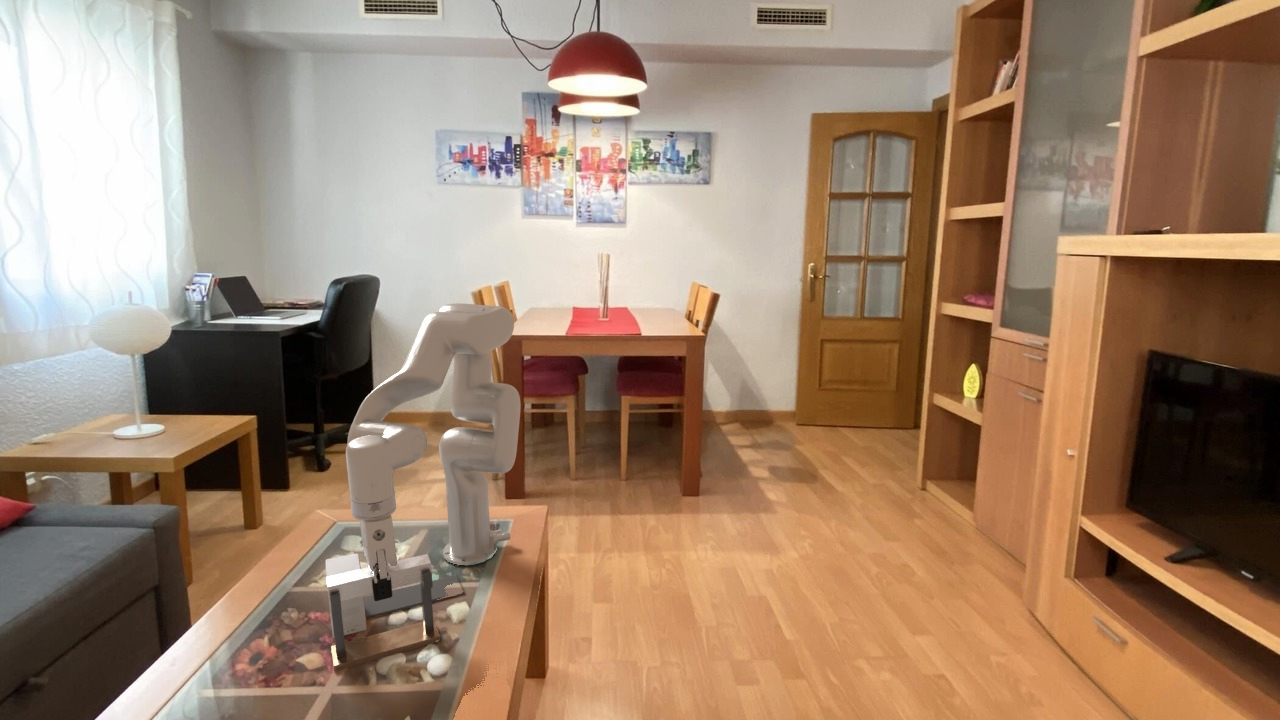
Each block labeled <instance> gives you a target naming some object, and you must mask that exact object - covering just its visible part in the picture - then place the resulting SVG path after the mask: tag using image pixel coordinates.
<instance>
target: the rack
mask: <svg viewBox="0 0 1280 720" xmlns="http://www.w3.org/2000/svg"><path fill="white" fill-rule="evenodd" d="M422 577H423V581H422V582H419V584H420V585H421V599H422V605H421V612H422V621H420V622H416V623H413V624H408V625H405V626H402V627H397V628H393V629H390V630H386V631H383V632H379V633H375V634H371V635H368V636H364V637H361V638H360V637H359V638H357V639H353V640H349V641H346V639H345V635H344V631H343V622H342V613H341V610H342V609H341V600H340V593H338V594H334V595H330V601H331V613H332V621H333V630H334V638H333V639H334V645H331V646H330V649H331V650H330V651H331V655H332V663H333V665H332V666H333V671H334V672H338V671H341V670H344V669H348V668H352V667H354V666H358V665H361V664H365V663H369V662H372V661H376V660H380V659H383V658H387V657H389V656H394V655H396V654H401V653H404V652H407V651H411V650H414V649H417V648H422V647H425V646H428V644H429V645H431V644H430V643H432V642H435V641H436V640H439V639H440V640H441V636H440V633H439V630H438V627H437V625H436V622H435V619H434V614H433V613H434V612H433V611H434V610H433V602H432V595H431V588H433V584H432V581H433V574H432V573H431V571H430V572H426V573H422ZM432 644H433V643H432Z"/></svg>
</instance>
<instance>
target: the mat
mask: <svg viewBox="0 0 1280 720" xmlns="http://www.w3.org/2000/svg"><path fill="white" fill-rule="evenodd" d="M456 577H458V575H457V574H454V575H451V576H446V577H443V578H439V579H434V580H432V584H433V588H431V595H432V603H434V602H433V601H435V600H437V599H440V598H442V597H445V596H446V595H447V594H448V593H447V594H446V592H445V591H446V590H445V589H444V588H445V587H446V586H447V585H450V584H451V585H452V584H453V583H454V582H456ZM452 582H453V583H452ZM447 596H448V595H447ZM435 602H436V601H435ZM364 606H365V615H366V620H369V619H372V618H373V619H374V618H377V617H379V616H384V615H388V614H391V613H396V612H400V611H404V610H407V609H411V608H415V607H419V606H422V599H421V585H420V583H417V584H415V585H411V586H410V585H409V586H407V587H405V586H404V587H402V588H401V587H400V588H397V589H394V590H393V589H392V597H391V598H387V599H383V600H379V601H374V595H373V594H372V595H370V596H366V597H365V596H364Z"/></svg>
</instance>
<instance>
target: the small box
mask: <svg viewBox="0 0 1280 720" xmlns="http://www.w3.org/2000/svg"><path fill="white" fill-rule="evenodd" d="M360 561H361V560H360V555H359V553H354V554H353V553H352V554H349V555H343V556H337V557H331V558H326V559H325V575H326V577H328V576H332V575H337V574H341V573H346V572H350V571H354V570H359V569H362V568H361V562H360ZM326 577H325V578H326ZM364 598H365V596H361V597H357V598H352V599H348V600H344V601H341V609H342V610H341V613H342V622H343V631H344V636H347V635H350V634H355V633H359V632H363V631H366V630H367V619H366V615H365V606H364ZM328 604H329V603H328ZM329 615H330V625H331V633H332V638H333V639H334V630H333V621H332V613H331V604H329Z"/></svg>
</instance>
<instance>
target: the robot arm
mask: <svg viewBox="0 0 1280 720" xmlns="http://www.w3.org/2000/svg"><path fill="white" fill-rule="evenodd" d="M514 328H515V321H514V317H513V314H512V312H511V311H510V310H509V309H508V308H506V307H504V306H499V305H498V306H497V305H485V304H473V303H457V302H456V303H449V304H445V305H442V306H441V307H440V308H439V310H438V312H437V311H436V312H433V313H429V314H427V315H426V316H425V317H424V318H423V319H422V321H421V323H420V326H419V328H418V330H417V333H416V334H415V337H414V340H413V341H412V344H411V346H410V348H409V351H408V353H407V356H406V357H405V360H404V362H403V364H402V366H401V368H400V370H399V371H398V372H395V374H393V375H392V376H390V377H388V378H387V379H385V380H384V381H383V382H382V383H380V384H379V385H378V386H376V387H375V389H373V390H371V392H370V393H368V395H367V396H366V397H365V398H364V399H363V401H362V402H361V404H360V405H359V407H358V410H357V412H356V414H355V416H354V418H353V421H352V423H351V425H350V428H349V431H348V434H347V435H348V436H347V445H346V447H345V448H346V449H345V460H346V469H347V479H348V489H349V498H350V508H351V516H352V517H353V518H354V519H355V520H358V521H359V527H360V534H361V542H362V546H363V551H364V555H365V558H366V559H365V560H366V562H367V567H369V569H370V570H371V571H373V578H374V581H372V584H373V594H372V596H373V595H374V601H379V600H383V599H387V598H391V597H392V591H393V589H392V584H391V577H390V572H389V564H390V565H391V566H396V565H397V561H398V557H397V548H396V539H395V531H394V523H393V518H392V515H393V514H394V513H395V512H396V510H397V504H396V503H397V502H396V491H395V479H394V471H396V470H399V469H402V468H404V467H407V466H409V465H412V464H414V463H416V462H417V461H418V460H419V459H421V457H422V456H423V455H424V453H425V452H426V449H427V446H428V438H427V435H426V432H425V431H424V430H423V429H422V428H420V426H416V425H413V424H407V423H398V422H391V421H384V419H385V418H386V417H387V416H388V414H390V412H392V410H394V409H396V408H397V407H399V406H400V405H403V404H405V403H406V402H410V401H413V400H416V399H418V398H422V397H424V396H428V395H430V394H433V393H435V392H437V391H438V390H440V388H441V387H443V384H444V382H445V379H446V376H447V373H448V371H449V369H450V366H451V363H452V362H453V376H452V386H451V396H450V411H451V415H452V416H453V417H454V418H455V419H457V420H458V421H462V422H468V423H470V422H471V423H476V424H487V425H492V427H493V429H483V428H478V427H477V428H476V427H466V426H460V427H453V428H450V429H448V430H446V431H445V432H444V433H443V434H442V436H441V438H440V441H439V444H438V452H439V456H440V461H441V465H442V467H443V471H444V472H443V473H444V478H445V479H444V480H445V490H446V508H447V525H448V538H449V539H448V542H447V544H446V545H445V546H444V548H443V551H442V552H443V554H442V555H443V558H444V560H445V559H446V560H447V561H446V560H445V561H446V562H448V563H449V562H450V563H449V564H451V563H453V564H452V565H454V564H457V565H456V566H459V565H463V564H469V563H473V562H477V561H481V560H483V559H485V558H487V557H489V556H490V555H491V554H492V553H494V551H495V550H496V548H497V549H498V543H499V542H505V541H510V540H511V533H510V531H505V532H503V529H501V528H500V529H496V530H492V529H491V522H490V500H489V499H490V497H489V483H488V482H489V481H488V480H487V476H486V475H485V473H490V474H506V473H508V472H509V471H510V470H511V469H512V468H513V467H514V465H515V462H516V457H517V451H518V441H519V429H520V419H521V418H520V417H521V406H522V405H521V396H520V394H519V393H520V392H519V391H518V390H517V388H516V387H514V386H513V385H511V384H509V383H501V382H492V369H493V367H492V366H493V363H492V362H493V360H492V356H491V353H490V352H492V351H493V350H496V349H497V348H500V347H501V346H504V345H506V343H508V341H509V340H510V339H511V337H512V335H513V332H514ZM487 554H489V556H485V555H487ZM463 561H464V562H463ZM376 570H379V573H376Z"/></svg>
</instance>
